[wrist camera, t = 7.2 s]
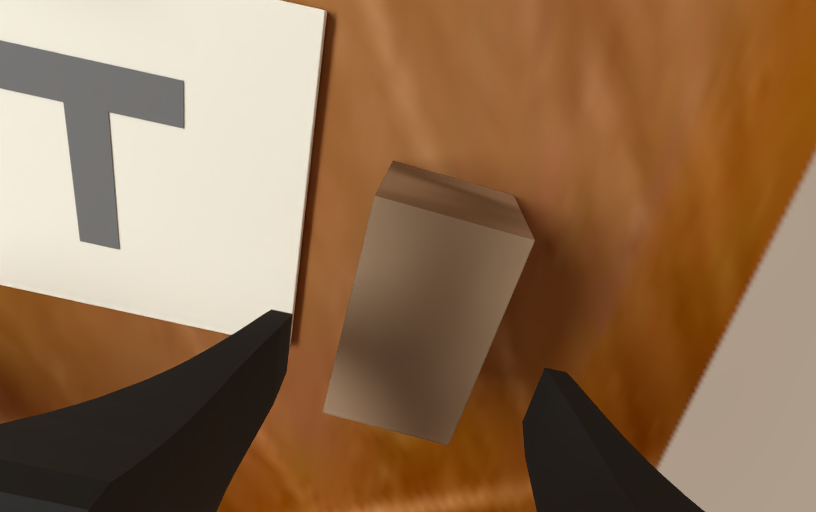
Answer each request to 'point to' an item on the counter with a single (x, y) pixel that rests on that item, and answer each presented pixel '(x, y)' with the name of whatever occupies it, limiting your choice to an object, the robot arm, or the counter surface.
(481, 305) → the walnut bar
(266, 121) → the letter mat
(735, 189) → the counter surface
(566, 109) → the counter surface
